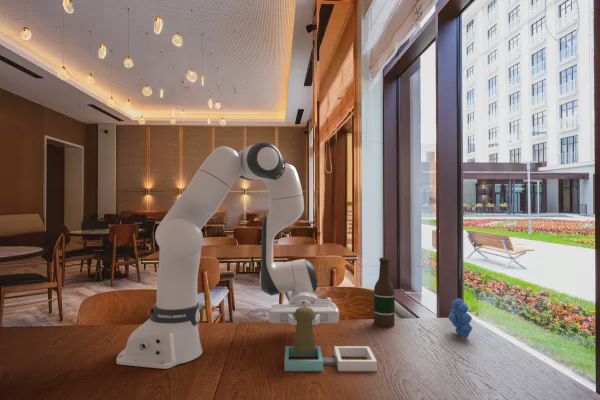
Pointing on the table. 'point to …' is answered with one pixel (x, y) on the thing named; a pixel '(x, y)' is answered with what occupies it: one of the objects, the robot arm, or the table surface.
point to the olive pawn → (304, 330)
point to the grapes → (460, 318)
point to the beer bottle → (384, 297)
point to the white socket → (352, 364)
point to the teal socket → (303, 364)
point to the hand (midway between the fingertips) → (304, 322)
